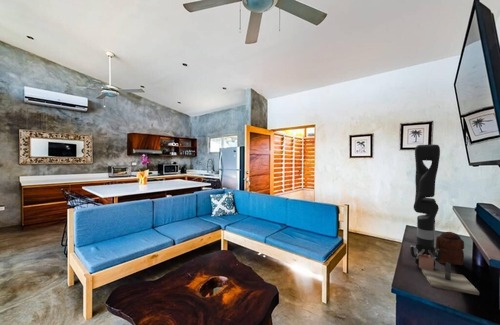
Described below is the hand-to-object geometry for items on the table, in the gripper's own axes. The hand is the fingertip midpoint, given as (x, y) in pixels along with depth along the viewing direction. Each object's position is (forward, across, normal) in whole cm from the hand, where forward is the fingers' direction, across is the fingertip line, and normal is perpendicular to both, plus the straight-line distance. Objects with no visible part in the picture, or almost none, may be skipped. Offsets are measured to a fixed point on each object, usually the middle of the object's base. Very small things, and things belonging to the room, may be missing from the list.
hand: (424, 265), depth 119 cm
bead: (+1, 0, 0) cm, 1 cm away
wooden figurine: (+1, -14, -10) cm, 17 cm away
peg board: (+1, -6, +13) cm, 14 cm away
